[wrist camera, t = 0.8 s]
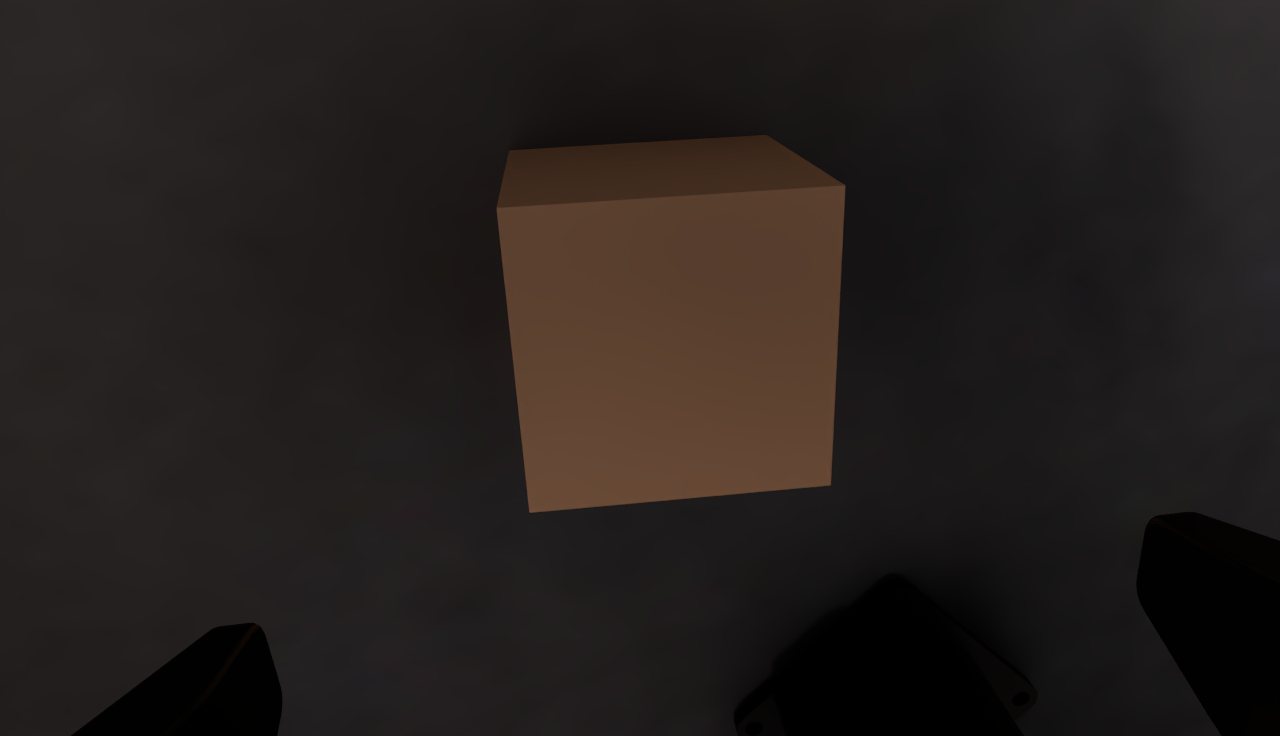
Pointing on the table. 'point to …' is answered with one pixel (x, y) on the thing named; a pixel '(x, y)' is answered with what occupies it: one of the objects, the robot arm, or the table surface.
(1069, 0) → the table surface
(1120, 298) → the table surface
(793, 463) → the cube
